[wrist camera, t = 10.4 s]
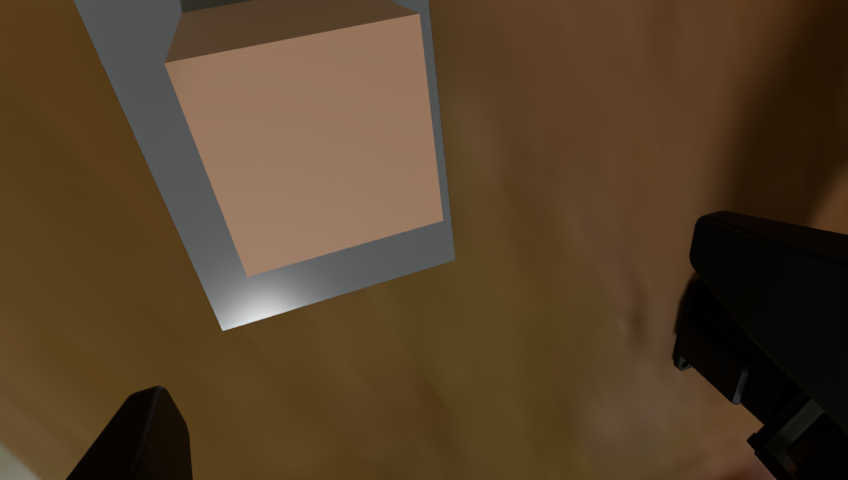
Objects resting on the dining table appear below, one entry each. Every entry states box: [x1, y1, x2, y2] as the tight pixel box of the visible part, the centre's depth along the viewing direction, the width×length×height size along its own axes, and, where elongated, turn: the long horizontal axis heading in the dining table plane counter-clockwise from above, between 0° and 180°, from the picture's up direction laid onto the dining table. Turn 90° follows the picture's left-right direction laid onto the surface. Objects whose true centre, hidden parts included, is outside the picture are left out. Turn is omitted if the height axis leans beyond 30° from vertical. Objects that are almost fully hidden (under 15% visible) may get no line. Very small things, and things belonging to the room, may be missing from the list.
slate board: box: [74, 0, 455, 331], centre depth 16 cm, size 9×16×1 cm, turn 7°
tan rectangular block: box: [164, 0, 443, 277], centre depth 13 cm, size 4×4×6 cm
